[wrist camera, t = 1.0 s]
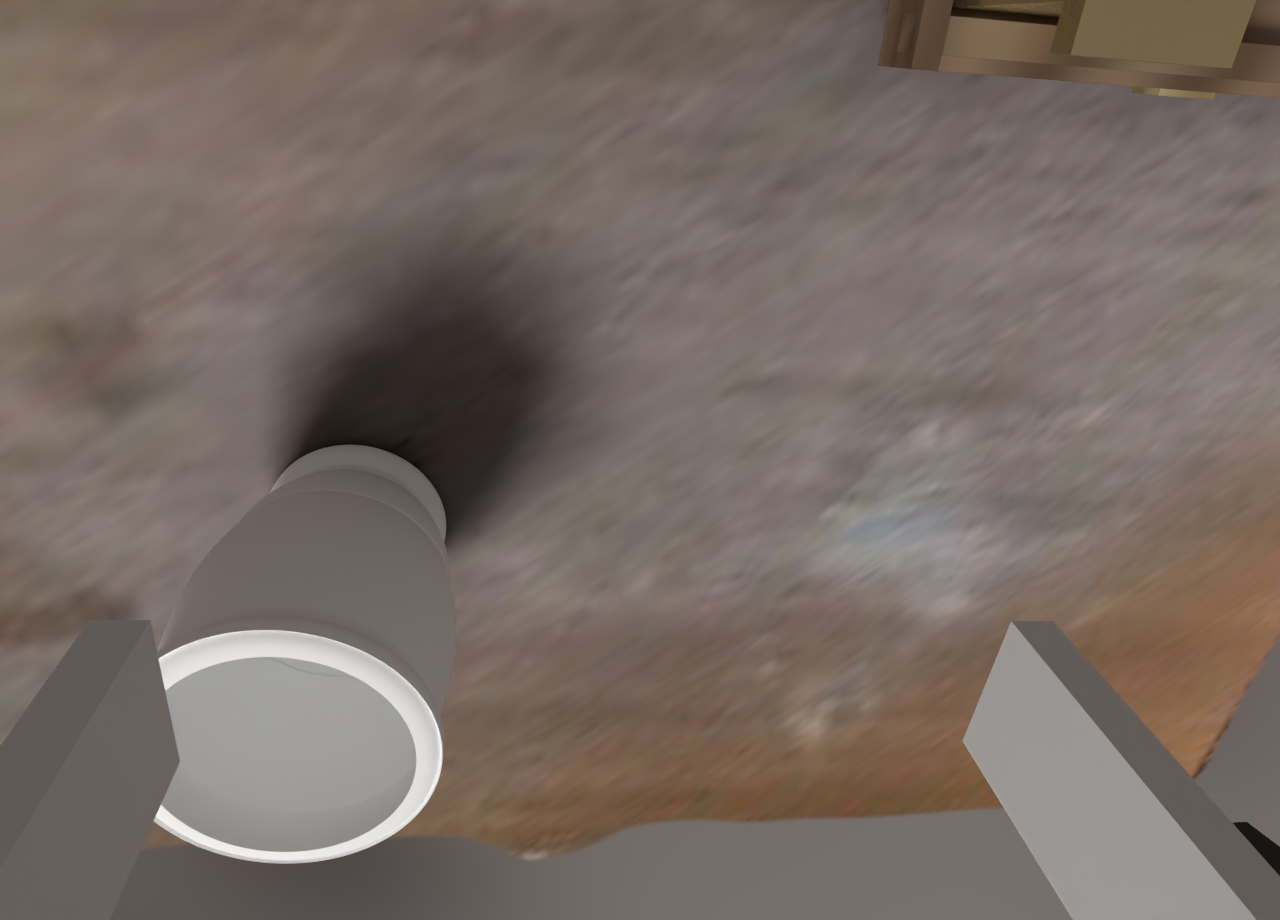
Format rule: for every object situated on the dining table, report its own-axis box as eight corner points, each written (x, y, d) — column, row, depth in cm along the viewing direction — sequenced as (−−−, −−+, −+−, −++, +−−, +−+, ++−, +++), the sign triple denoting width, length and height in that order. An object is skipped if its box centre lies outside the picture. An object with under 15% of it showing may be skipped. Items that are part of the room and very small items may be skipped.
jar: (223, 425, 37) (58, 647, 23) (458, 416, 38) (426, 621, 25) (269, 613, 42) (154, 884, 28) (475, 600, 43) (457, 852, 30)
